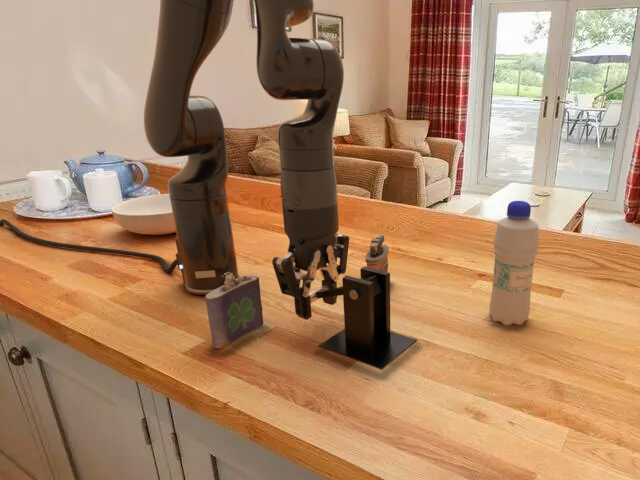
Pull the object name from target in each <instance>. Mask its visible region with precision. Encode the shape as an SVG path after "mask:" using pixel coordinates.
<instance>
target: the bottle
mask: <svg viewBox="0 0 640 480" xmlns="http://www.w3.org/2000/svg"><path fill="white" fill-rule="evenodd" d="M531 206H532V205H530V203H529V202H527V201H524V200H513V201H511V202H509V203H508V205H507V207H506V217H504V218H501V219H500V220H498V222H497V226H496V228H495V229H496V230H495V234H494V239H493V244H494V245H493V249H492V250H493V252H494V265H493V266H494V267H493V277H492V287H491V288H492V289H491V295H490V301H489V316H491V320H492V321H493V322H500V323H501V324H503V325H505V326H511V325H517V326H520V325H523V324H524V322H525V321H528V320H529V317H530V311H531V291H532V283H533V274H534V265H535V258H536V256H537V255H538V248H539V246H540V243H539V224H538V223H537V221H535V220H533V219H531V213H532V212H531V211H532V207H531Z"/></svg>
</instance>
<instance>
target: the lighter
mask: <svg viewBox="0 0 640 480" xmlns="http://www.w3.org/2000/svg"><path fill="white" fill-rule="evenodd" d="M384 242H385V235H384V234H383V233H379V234H377V236H376V237H375V238H371V240H370V244H369V250H368V251H367V252H366V254H365V256H364V257H365V263H366V267H369V268H373V269H377V270H381V271H385V272H388V268H389V260H388V258H389V257H388V255H389V252H390V251H389V245H387V244H384Z"/></svg>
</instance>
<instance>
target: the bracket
mask: <svg viewBox="0 0 640 480" xmlns="http://www.w3.org/2000/svg"><path fill="white" fill-rule="evenodd" d="M359 271H360V278H363V277H369V276H375V275H376V276H377V279H378V282H379V285H380V288H381V292H380V293H378V294H377V295H375V296H373V282H369V281H365V280H362V279H360V278H358V277H354V276H351V275H345V276H343V277H342V278H341V280H342V281H341V282H342V287H343V295H342V299H343V300H342V301H343V319H344V328H343V329H341V330H340V331H339V332H337V333H335V334H334V335H332V336H331V337H329V338H327V339H326V340H324V341H323V342H321V343H319V345H318V348H322V349H324V350H327V351H330V352H332V353H335V354H337V355H340V356H344V357H346V358H349V359H352V360H355V361H356V362H359V363H362V364H365V365H368V366H371V367H373V368H376V369H379V370H384V369H385V368H386V367H387V366H389V365H390V364H391V363H392V362H394V361H395V360H396V359H397V358H399V357H400V355H402V354H403V353H404V352H406V350H407V349H409V348H410V347H412V346H413V345H414V344H415V343H416V342H417V341H418V339H416V338H413V337H410V336H407V335H404V334H401V333H397V332H394V331H392V330H391V272H385V271H381V270H377V269H373V268H369V267H367V266H363V267H361V268H360V270H359Z"/></svg>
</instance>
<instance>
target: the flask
mask: <svg viewBox="0 0 640 480" xmlns="http://www.w3.org/2000/svg"><path fill="white" fill-rule="evenodd" d="M229 273H230V272H227V273H224V275H227V274H229ZM222 277H223V275H222ZM225 277H226V280H225V282H224V283H225V285H223V286H221V287H219V288H217V289H215V290H214V291H212V292H210V293H208V294H207V295H204V299H205V305H206V311H207V317H208V325H209V330H210V336H211V342H212V347H213V348H215V349H222V348H223V349H224V348H225V347H228V346H230V344H232V343H233V342H235V341H236V340H238V339H240V337H242V336H244V335H245V334H247V333H250V332H252V331H254V330H256V329H259V328H261V327H263V326H264V317H263V305H262V298H261V286H260V278H259V277H258V275H253V274H248V275H242V276H241V277H239V278H238V279H236V278H234V277H235V276H233V274H232V273H230V274H229V275H227V276H225Z"/></svg>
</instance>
